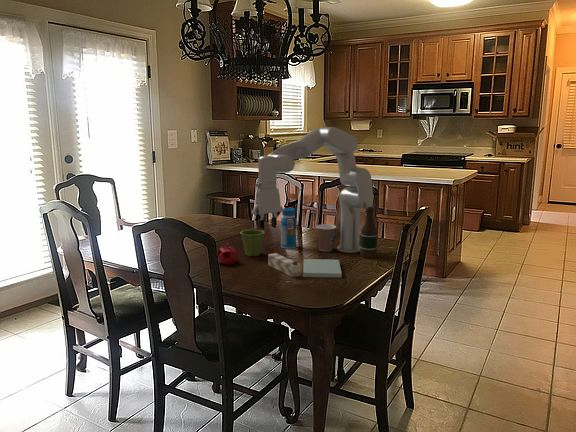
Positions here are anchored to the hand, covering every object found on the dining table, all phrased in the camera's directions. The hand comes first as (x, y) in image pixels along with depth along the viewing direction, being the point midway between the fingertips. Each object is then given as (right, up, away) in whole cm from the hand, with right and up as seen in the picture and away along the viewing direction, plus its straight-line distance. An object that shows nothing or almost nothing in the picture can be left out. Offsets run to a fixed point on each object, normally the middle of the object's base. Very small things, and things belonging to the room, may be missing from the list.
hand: (267, 227), depth 202 cm
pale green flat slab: (+23, -19, +6) cm, 30 cm away
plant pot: (-9, -14, +30) cm, 34 cm away
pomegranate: (-19, -17, +16) cm, 30 cm away
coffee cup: (+28, -12, +39) cm, 49 cm away
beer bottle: (+47, -15, +26) cm, 56 cm away
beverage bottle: (+9, -11, +44) cm, 46 cm away
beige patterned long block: (+7, -19, +5) cm, 20 cm away
